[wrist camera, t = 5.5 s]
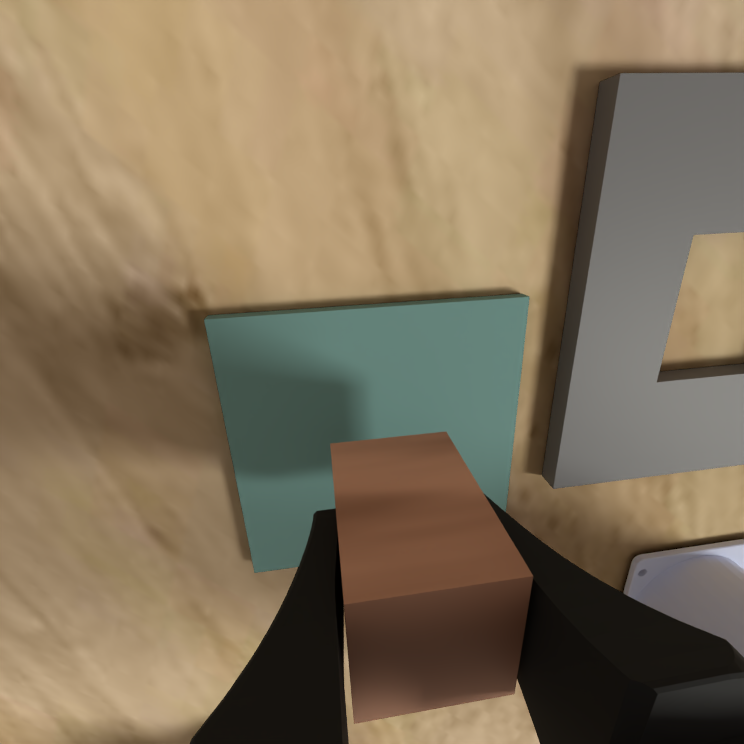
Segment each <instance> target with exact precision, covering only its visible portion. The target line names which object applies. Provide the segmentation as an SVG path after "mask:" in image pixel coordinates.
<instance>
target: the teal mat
mask: <svg viewBox="0 0 744 744" xmlns="http://www.w3.org/2000/svg"><path fill="white" fill-rule="evenodd" d="M528 306H529V296H526V295H524V294H510V295H495V296H481V297H467V298H452V299H438V300H423V301H409V302H394V303H380V304H365V305H351V306H336V307H322V308H307V309H293V310H278V311H264V312H249V313H235V314H221V315H208V316H207V317H206V318H205V319H204V322H205V327H206V332H207V337H208V342H209V347H210V352H211V357H212V362H213V367H214V372H215V377H216V382H217V387H218V392H219V397H220V402H221V407H222V412H223V417H224V422H225V427H226V432H227V437H228V442H229V447H230V452H231V457H232V462H233V467H234V472H235V477H236V482H237V487H238V492H239V497H240V502H241V507H242V512H243V517H244V522H245V527H246V532H247V537H248V542H249V547H250V552H251V557H252V562H253V567H254V572H255V573H257V572H265V571H272V570H279V569H286V568H293V567H299V564H300V562H301V559H302V556H303V553H304V550H305V548H306V545H307V541H308V538H309V534H310V531H311V527H312V522H313V514H314V513H315V512H316V511H319V510H327V509H335V508H336V507H335V495H334V483H333V471H332V459H331V448H330V444H331V443H340V442H350V441H359V440H369V439H379V438H388V437H398V436H407V435H417V434H427V433H436V432H447V434H448V435H449V437H450V439H451V440H452V442H453V444H454V445H455V447H456V449H457V450H458V452H459V454H460V455H461V457H462V459H463V460H464V462H465V464H466V465H467V467H468V469H469V470H470V472H471V473H472V475H473V477H474V478H475V480H476V482H477V483H478V485H479V487H480V488H481V490H482V492H483V493H484V494H485V495H486V496H487V497H489V498H490V499H491V500H492V501H493V502H494V503H496V504H497V505H498V506H499V507H500V508H501V509H502V510H504V511H505V512H506V505H507V496H508V487H509V478H510V469H511V460H512V451H513V442H514V433H515V424H516V415H517V405H518V396H519V387H520V378H521V369H522V360H523V351H524V342H525V333H526V324H527V315H528Z"/></svg>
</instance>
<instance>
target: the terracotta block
mask: <svg viewBox="0 0 744 744" xmlns="http://www.w3.org/2000/svg"><path fill="white" fill-rule="evenodd" d="M330 448H331V459H332V471H333V483H334V495H335V507H336V518H337V529H338V541H339V553H340V565H341V577H342V588H343V600H344V612H345V624H346V635H347V647H348V659H349V670H350V682H351V694H352V706H353V717H354V724H355V723H361V722H366V721H372V720H377V719H382V718H388V717H393V716H399V715H404V714H409V713H415V712H420V711H426V710H431V709H436V708H442V707H447V706H453V705H458V704H463V703H469V702H474V701H480V700H485V699H490V698H496V697H501V696H507V695H512V694H514V693H515V687H516V681H517V674H518V668H519V662H520V656H521V649H522V643H523V637H524V631H525V625H526V618H527V612H528V606H529V600H530V593H531V587H532V581H533V575H532V573H531V571H530V570H529V568H528V566H527V565H526V563H525V561H524V560H523V558H522V556H521V555H520V553H519V551H518V550H517V548H516V547H515V545H514V543H513V542H512V540H511V538H510V537H509V535H508V533H507V532H506V530H505V528H504V527H503V525H502V523H501V522H500V520H499V518H498V517H497V515H496V513H495V512H494V510H493V508H492V507H491V505H490V503H489V502H488V500H487V498H486V497H485V495H484V493H483V492H482V490H481V488H480V487H479V485H478V483H477V482H476V480H475V478H474V477H473V475H472V473H471V472H470V470H469V469H468V467H467V465H466V464H465V462H464V460H463V459H462V457H461V455H460V454H459V452H458V450H457V449H456V447H455V445H454V444H453V442H452V440H451V439H450V437H449V435H448V434H447V432H436V433H427V434H417V435H407V436H398V437H388V438H379V439H369V440H359V441H350V442H340V443H331V444H330Z"/></svg>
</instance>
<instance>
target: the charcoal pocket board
mask: <svg viewBox="0 0 744 744" xmlns="http://www.w3.org/2000/svg"><path fill="white" fill-rule="evenodd" d="M735 232H744V73H620V74H618V75H615V76H613V77H611V78H608V79H606V80H604V81H601V82H600V85H599V91H598V98H597V105H596V112H595V119H594V125H593V132H592V139H591V146H590V153H589V159H588V166H587V173H586V180H585V187H584V193H583V200H582V207H581V214H580V221H579V227H578V234H577V241H576V248H575V255H574V262H573V268H572V275H571V282H570V289H569V296H568V302H567V309H566V316H565V323H564V330H563V336H562V343H561V350H560V357H559V364H558V370H557V377H556V384H555V391H554V398H553V405H552V411H551V418H550V425H549V432H548V439H547V445H546V452H545V459H544V466H543V473H542V476H543V477H544V479H545V480H546V481H547V482H548V483H549V484H550V486H551V487H552V488H553V489H556V488H564V487H572V486H580V485H587V484H595V483H603V482H611V481H619V480H627V479H634V478H642V477H650V476H658V475H666V474H673V473H681V472H689V471H697V470H705V469H713V468H720V467H728V466H736V465H744V364H734V365H723V366H713V367H702V368H692V369H681V370H671V371H661V372H659V371H660V367H661V363H662V359H663V355H664V351H665V347H666V343H667V339H668V335H669V331H670V327H671V323H672V319H673V315H674V311H675V307H676V303H677V299H678V295H679V291H680V287H681V283H682V279H683V275H684V271H685V267H686V263H687V259H688V255H689V251H690V247H691V243H692V239H693V235H698V234H716V233H735Z"/></svg>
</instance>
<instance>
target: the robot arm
mask: <svg viewBox="0 0 744 744" xmlns="http://www.w3.org/2000/svg"><path fill="white" fill-rule="evenodd" d="M484 495H485V494H484ZM485 497H486V498H487V500H488V502H489V503H490V505H491V507H492V508H493V510H494V512H495V513H496V515H497V517H498V518H499V520H500V522H501V523H502V525H503V527H504V528H505V530H506V532H507V533H508V535H509V537H510V538H511V540H512V542H513V543H514V545H515V547H516V548H517V550H518V551H519V553H520V555H521V556H522V558H523V560H524V561H525V563H526V565H527V566H528V568H529V570H530V571H531V573H532V575H533V581H532V587H531V593H530V600H529V606H528V612H527V618H526V625H525V631H524V637H523V643H522V649H521V656H520V662H519V668H518V674H517V679H518V682H519V685H520V688H521V690H522V693H523V696H524V699H525V701H526V704H527V707H528V710H529V713H530V716H531V718H532V721H533V724H534V727H535V730H536V733H537V736H538V739H539V742H540V744H744V539H739V540H732V541H726V542H719V543H712V544H706V545H699V546H693V547H686V548H679V549H673V550H666V551H660V552H653V553H646V554H640V555H637V556H636V557H635V558H634V559H633V560H632V563H631V566H630V570H629V574H628V577H627V581H626V584H625V588H624V592H623V593H622V592H620V591H618V590H616V589H614V588H613V587H611V586H609V585H607V584H605V583H604V582H602V581H600V580H598V579H597V578H595V577H593V576H592V575H590V574H589V573H587V572H585V571H584V570H582V569H581V568H579V567H578V566H576V565H574V564H573V563H571V562H570V561H568V560H567V559H565V558H564V557H562V556H561V555H559V554H558V553H557V552H555V551H554V550H553V549H551V548H550V547H548V546H547V545H546V544H544V543H543V542H542V541H540V540H539V539H538V538H536V537H535V536H534V535H533V534H531V533H530V532H529V531H528V530H526V529H525V528H524V527H523V526H521V525H520V524H519V523H518V522H517V521H515V520H514V519H513V518H512V517H511V516H509V515H508V514H507V513H506V512H505V511H504V510H502V509H501V508H500V507H499V506H498V505H497V504H496V503H494V502H493V501H492V500H491V499H490V498H489V497H487V496H486V495H485ZM190 744H349V743H348V730H347V717H346V703H345V690H344V600H343V588H342V577H341V565H340V553H339V541H338V529H337V518H336V508H335V509H327V510H319V511H316V512H315V513H314V514H313V522H312V527H311V531H310V534H309V538H308V541H307V545H306V548H305V550H304V553H303V556H302V559H301V562H300V564H299V567H298V570H297V572H296V574H295V577H294V579H293V581H292V584H291V586H290V588H289V590H288V593H287V595H286V597H285V599H284V601H283V603H282V605H281V607H280V609H279V611H278V613H277V615H276V617H275V619H274V621H273V622H272V624H271V626H270V628H269V630H268V631H267V633H266V635H265V636H264V638H263V640H262V641H261V643H260V645H259V647H258V648H257V650H256V651H255V653H254V655H253V656H252V658H251V659H250V661H249V662H248V664H247V665H246V667H245V668H244V670H243V671H242V673H241V674H240V675H239V677H238V678H237V680H236V681H235V683H234V684H233V686H232V687H231V689H230V690H229V691H228V693H227V694H226V696H225V697H224V698H223V700H222V701H221V702H220V704H219V705H218V706H217V707H216V709H215V710H214V711H213V712H212V714H211V715H210V716H209V718H208V719H207V720H206V721H205V723H204V724H203V725H202V727H201V728H200V729H199V730H198V732H197V733H196V734H195V735H194V737H193V738H192V740H191V742H190Z"/></svg>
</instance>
